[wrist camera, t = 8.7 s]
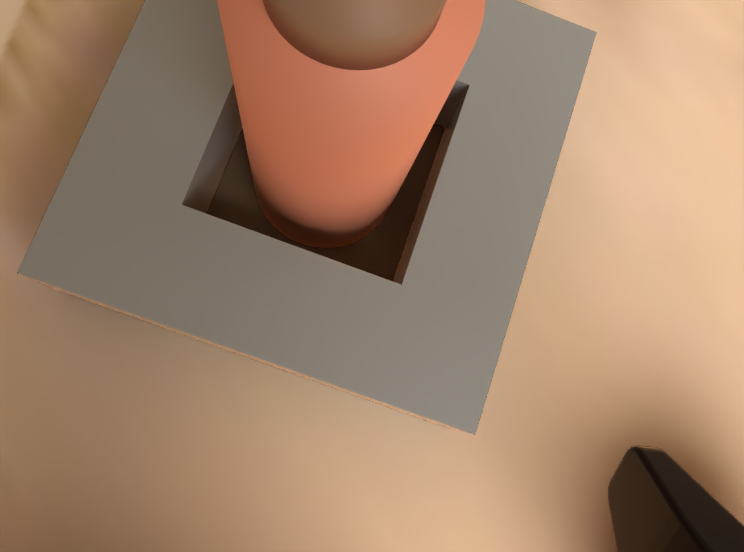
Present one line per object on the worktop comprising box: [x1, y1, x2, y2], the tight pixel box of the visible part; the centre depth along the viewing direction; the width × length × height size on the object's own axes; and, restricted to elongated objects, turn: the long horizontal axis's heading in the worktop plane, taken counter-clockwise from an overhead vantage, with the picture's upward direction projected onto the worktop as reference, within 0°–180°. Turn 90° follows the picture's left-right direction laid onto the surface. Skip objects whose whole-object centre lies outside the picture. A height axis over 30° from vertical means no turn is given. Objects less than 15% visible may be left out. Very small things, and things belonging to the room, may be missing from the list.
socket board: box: [17, 0, 596, 435], centre depth 19 cm, size 12×12×3 cm
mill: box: [217, 0, 485, 248], centre depth 15 cm, size 4×4×11 cm
